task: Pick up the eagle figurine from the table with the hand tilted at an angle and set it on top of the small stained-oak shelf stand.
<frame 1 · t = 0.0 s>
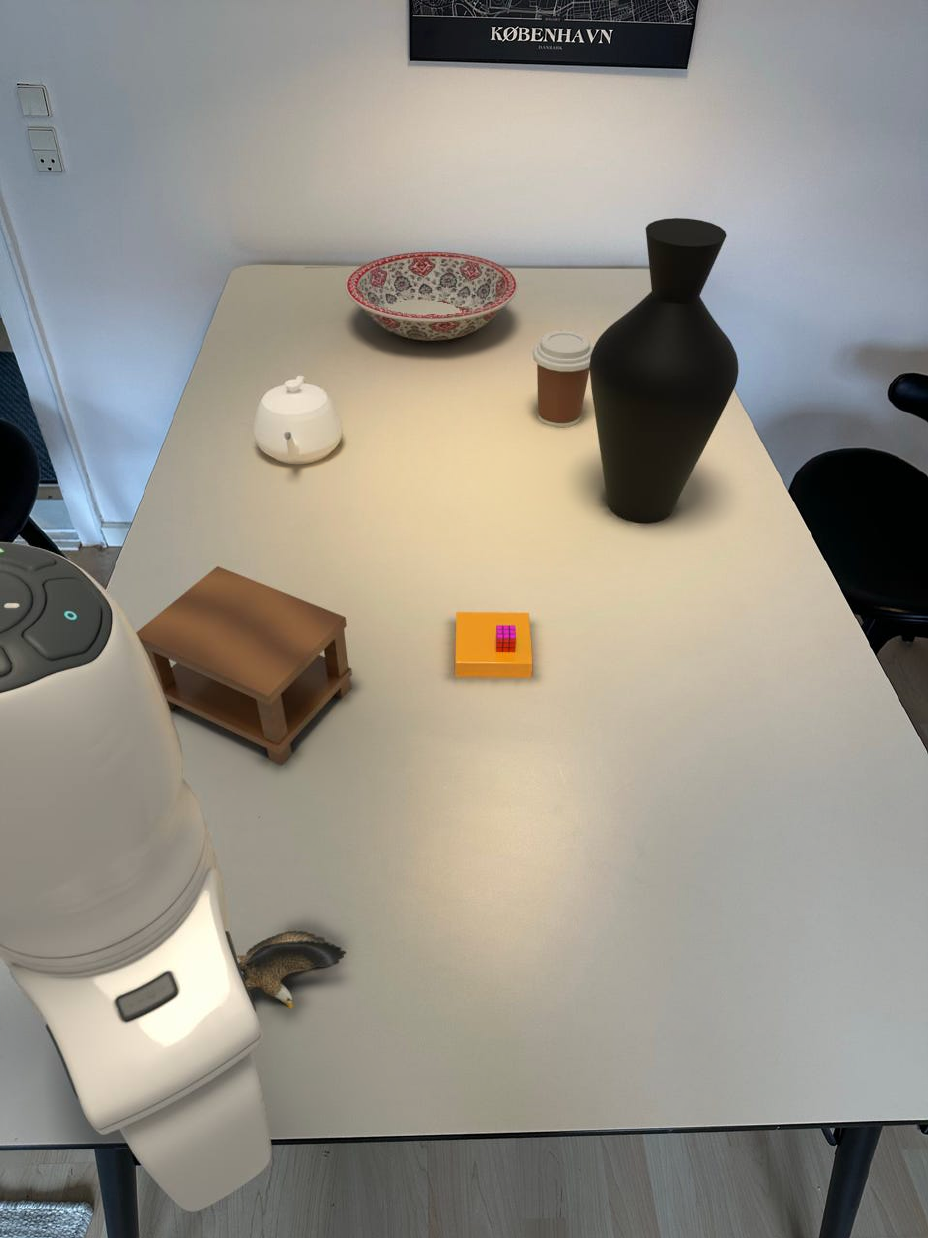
hand: (177, 1036, 46), 21 cm above the table, tool pointing down, fingers open, 8 cm apart
ceramic bowl: (432, 328, 159), on the table
vase: (639, 506, 119), on the table
shelf: (256, 697, 93), on the table
orange block: (492, 653, 98), on the table
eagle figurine: (281, 985, 70), on the table
teapot: (300, 450, 128), on the table
coffee cup: (558, 417, 136), on the table
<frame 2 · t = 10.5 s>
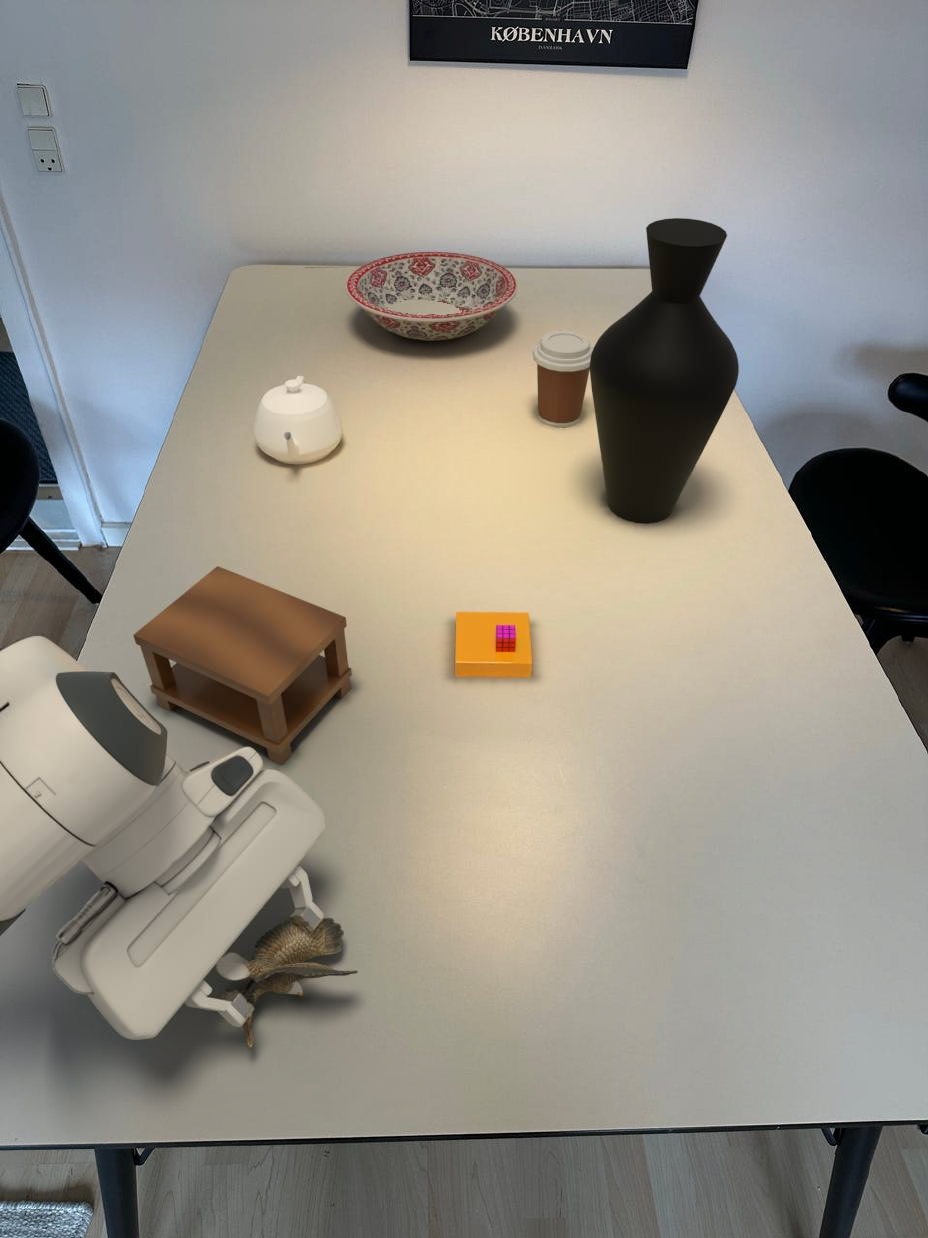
hand: (282, 969, 66), 5 cm above the table, tool tilted 45°, fingers closed on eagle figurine, 7 cm apart
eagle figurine: (291, 968, 70), point 1 cm above the table, touching gripper
everything else where it was.
when the fingers open (15 cm above the table, at t = 19.9 s): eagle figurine stays where it is, resting on shelf.
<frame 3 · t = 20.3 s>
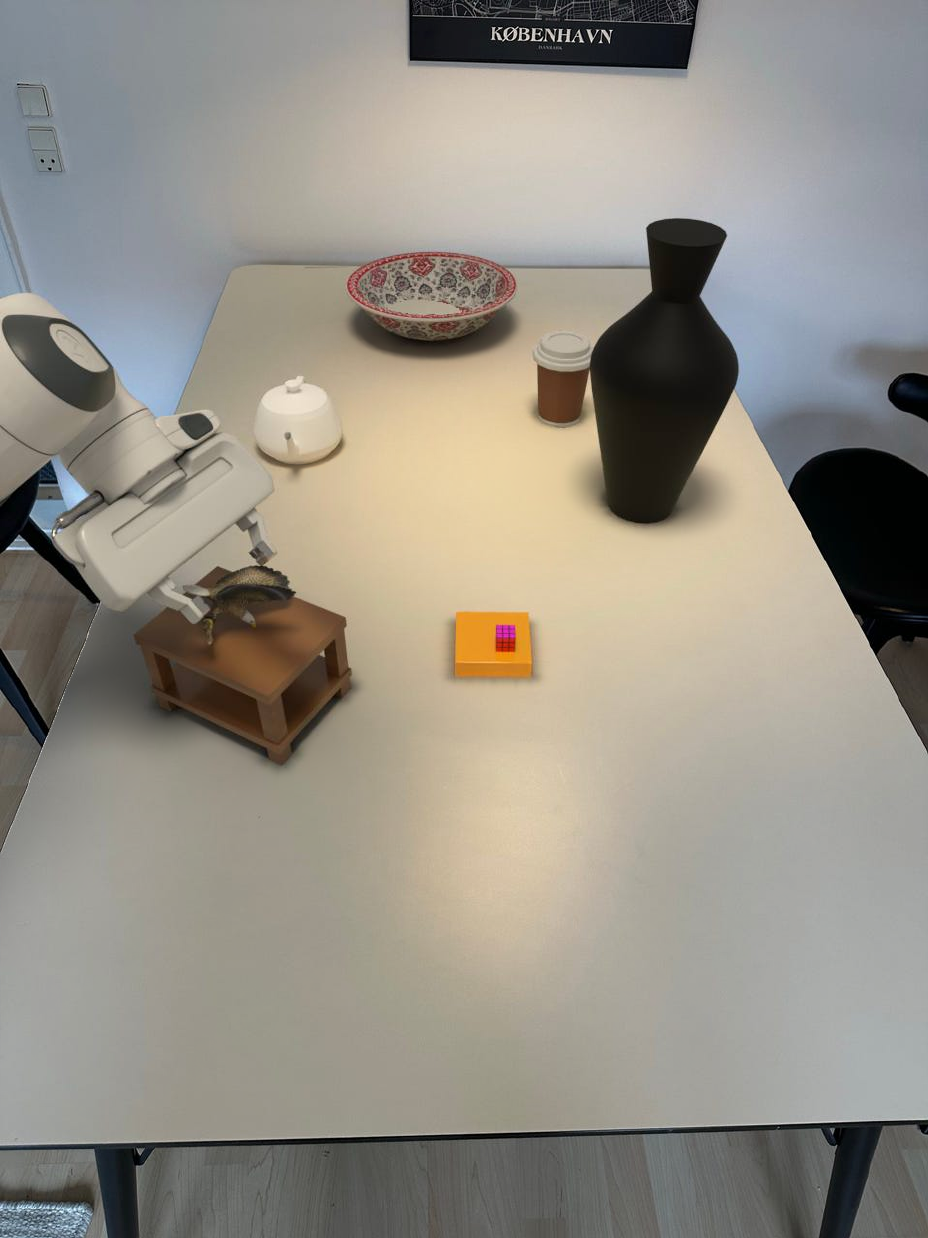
hand: (237, 587, 82), 15 cm above the table, tool tilted 45°, fingers open, 8 cm apart
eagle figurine: (246, 608, 86), point 11 cm above the table, touching shelf
everything else where it was.
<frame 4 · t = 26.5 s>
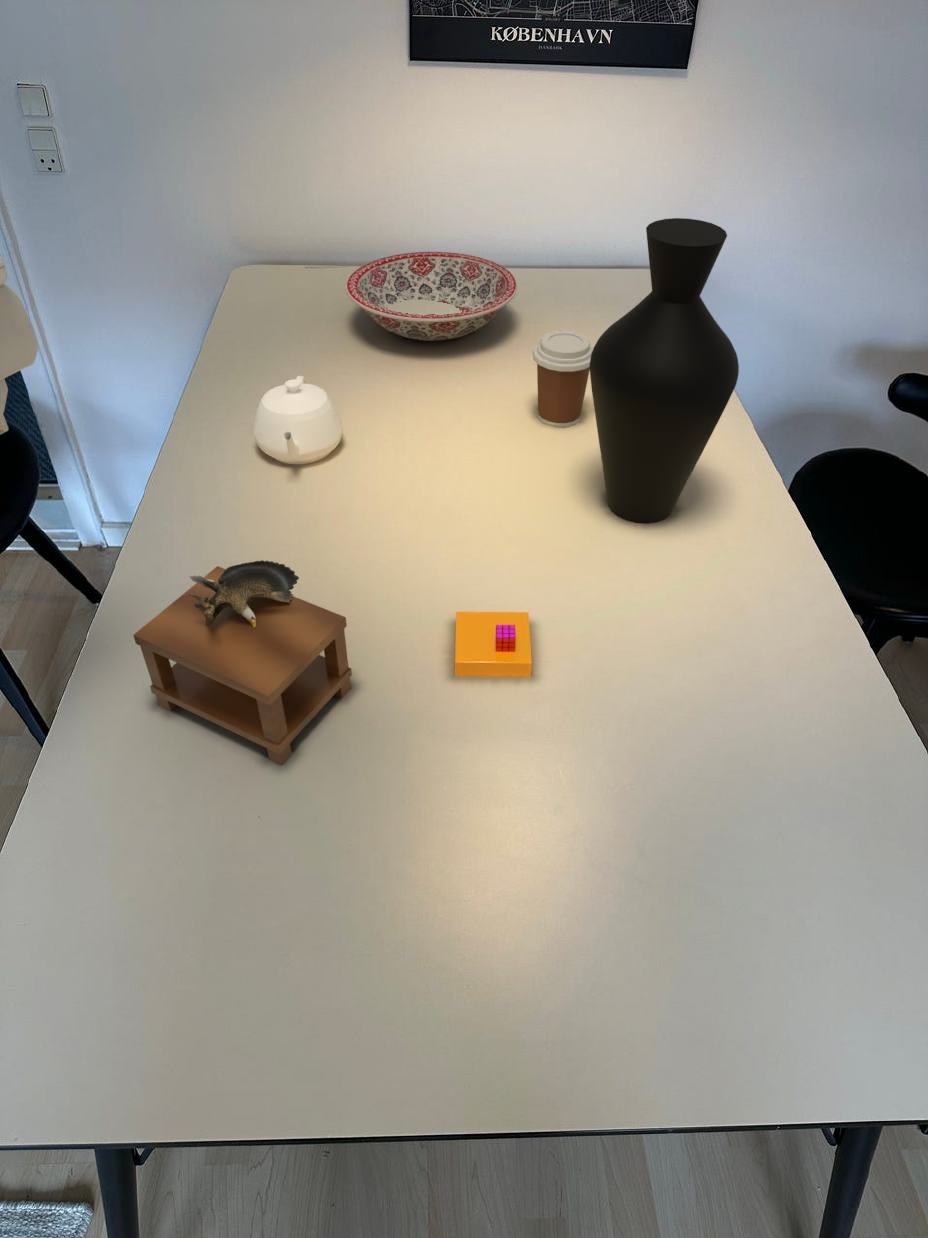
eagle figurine: (248, 615, 87), point 10 cm above the table, touching shelf
everything else where it was.
at the end: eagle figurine inside the target area on the shelf (1.8 cm from its centre), point 9.8 cm above the shelf's base; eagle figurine tilted 2°; the gripper is holding nothing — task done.
